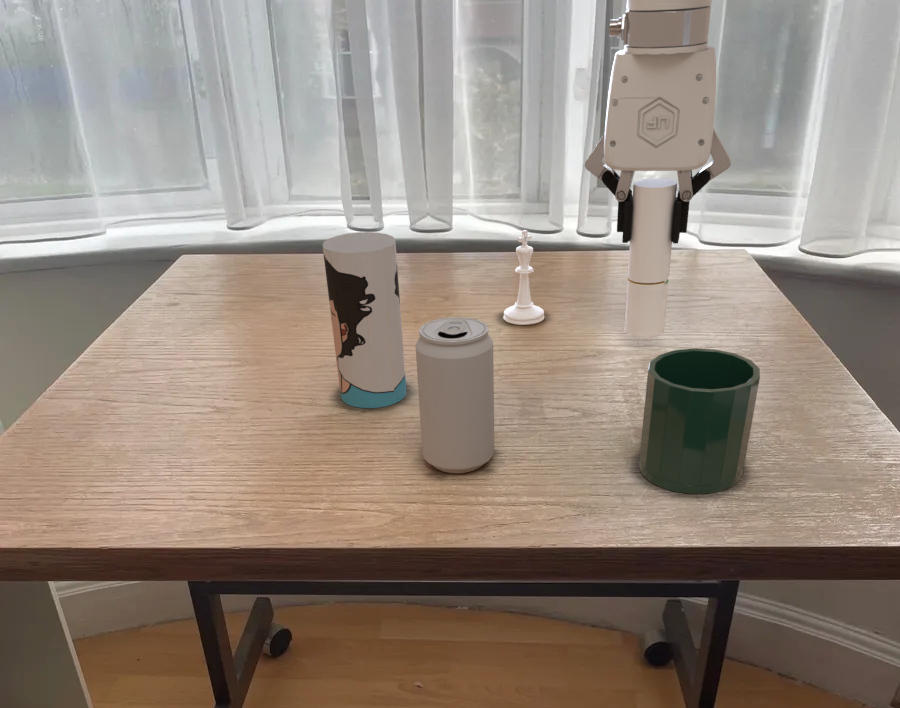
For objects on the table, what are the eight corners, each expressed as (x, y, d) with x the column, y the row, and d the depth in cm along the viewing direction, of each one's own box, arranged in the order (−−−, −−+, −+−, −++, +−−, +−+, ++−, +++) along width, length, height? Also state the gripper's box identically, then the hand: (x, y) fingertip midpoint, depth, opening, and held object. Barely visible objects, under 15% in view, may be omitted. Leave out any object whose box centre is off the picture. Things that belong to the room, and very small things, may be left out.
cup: (391, 375, 95) (379, 228, 86) (417, 399, 91) (406, 245, 82) (331, 389, 93) (312, 239, 84) (354, 413, 88) (337, 257, 79)
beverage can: (417, 476, 78) (408, 341, 71) (429, 441, 83) (421, 313, 76) (490, 478, 77) (488, 343, 70) (497, 443, 82) (496, 314, 75)
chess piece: (494, 318, 108) (494, 231, 102) (523, 307, 111) (524, 222, 105) (524, 328, 105) (525, 239, 99) (553, 317, 108) (555, 229, 102)
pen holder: (742, 449, 79) (759, 351, 74) (741, 498, 73) (760, 395, 67) (643, 441, 81) (653, 345, 76) (634, 488, 75) (644, 387, 69)
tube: (646, 340, 96) (657, 189, 88) (616, 330, 99) (624, 184, 90) (672, 329, 98) (686, 181, 90) (642, 320, 101) (652, 176, 92)
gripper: (568, 40, 81) (564, 248, 92) (763, 32, 77) (735, 251, 88) (580, 32, 87) (575, 229, 98) (761, 24, 83) (735, 231, 94)
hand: (651, 237), depth 93 cm, fingers closed on tube, 4 cm apart
